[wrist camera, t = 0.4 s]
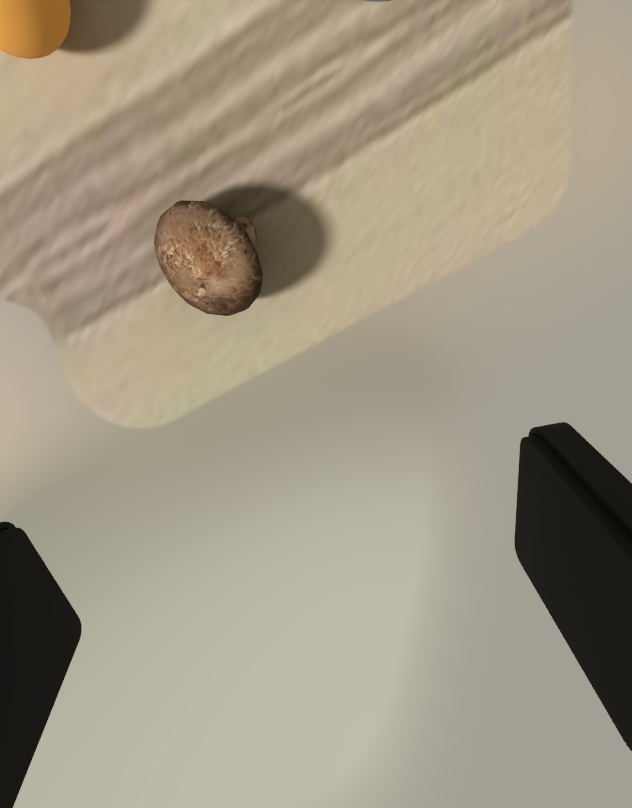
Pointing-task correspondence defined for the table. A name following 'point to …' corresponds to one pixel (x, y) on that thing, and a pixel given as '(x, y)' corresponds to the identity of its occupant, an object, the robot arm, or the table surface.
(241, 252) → the mushroom
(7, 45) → the ball
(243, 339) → the table surface
